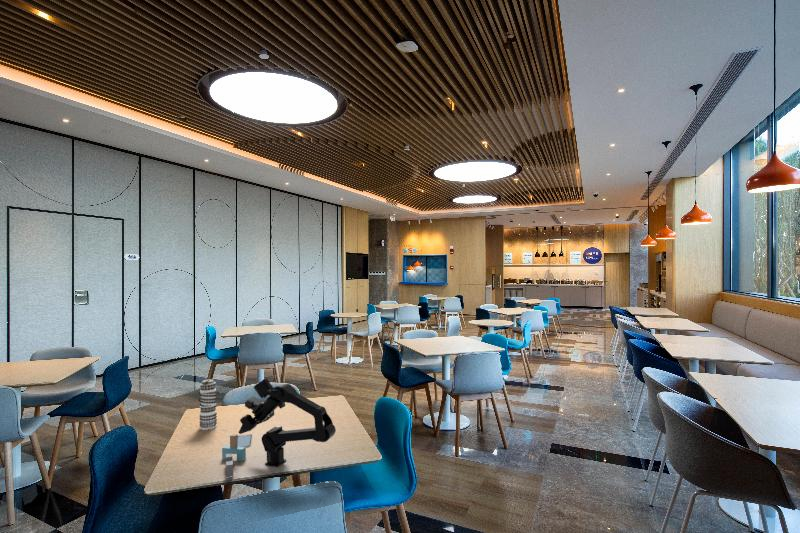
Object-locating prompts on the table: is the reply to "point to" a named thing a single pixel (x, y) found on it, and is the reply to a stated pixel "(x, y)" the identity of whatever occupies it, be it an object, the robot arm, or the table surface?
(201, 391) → the decorative candle
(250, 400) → the robot arm
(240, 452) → the blue brown t-shaped block
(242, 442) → the smartphone
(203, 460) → the table surface
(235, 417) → the table surface
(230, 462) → the slotted bar
